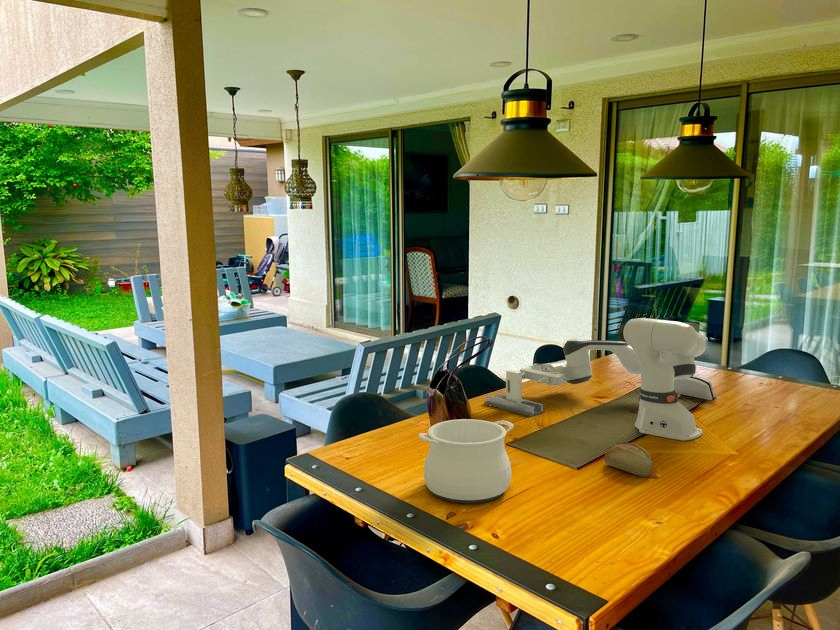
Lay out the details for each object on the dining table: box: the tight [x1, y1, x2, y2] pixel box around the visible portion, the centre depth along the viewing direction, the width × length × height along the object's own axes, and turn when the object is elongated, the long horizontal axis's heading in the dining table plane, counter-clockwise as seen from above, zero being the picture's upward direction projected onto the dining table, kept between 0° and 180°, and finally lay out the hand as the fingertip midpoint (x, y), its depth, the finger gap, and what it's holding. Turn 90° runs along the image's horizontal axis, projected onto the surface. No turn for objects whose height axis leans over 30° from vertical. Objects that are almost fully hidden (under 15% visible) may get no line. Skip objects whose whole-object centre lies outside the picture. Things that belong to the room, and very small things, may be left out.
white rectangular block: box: [505, 369, 523, 404], centre depth 257 cm, size 6×3×14 cm, turn 41°
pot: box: [417, 418, 515, 505], centre depth 180 cm, size 28×24×17 cm
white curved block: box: [674, 374, 717, 401], centre depth 271 cm, size 17×5×10 cm, turn 38°
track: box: [483, 392, 546, 418], centre depth 258 cm, size 24×9×4 cm, turn 41°
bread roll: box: [603, 441, 654, 478], centre depth 192 cm, size 10×15×8 cm, turn 45°
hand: (529, 379), depth 263 cm, fingers open, 8 cm apart
